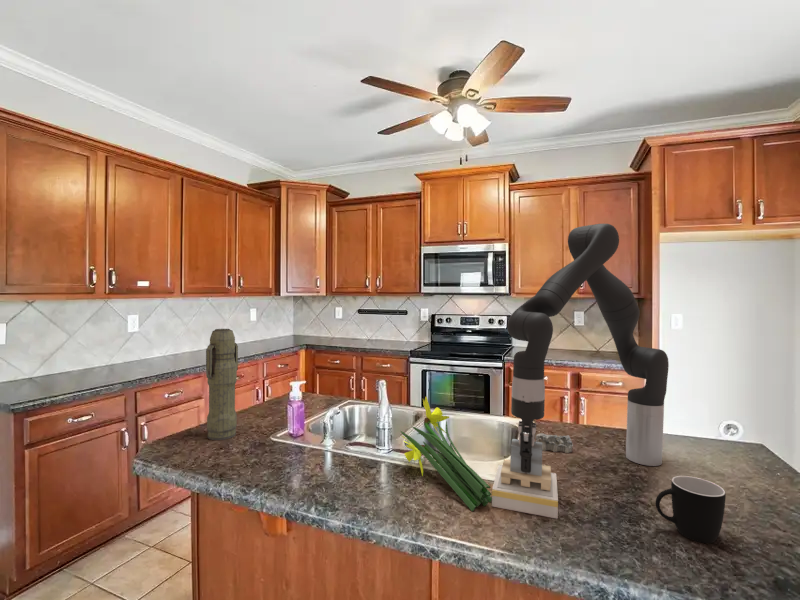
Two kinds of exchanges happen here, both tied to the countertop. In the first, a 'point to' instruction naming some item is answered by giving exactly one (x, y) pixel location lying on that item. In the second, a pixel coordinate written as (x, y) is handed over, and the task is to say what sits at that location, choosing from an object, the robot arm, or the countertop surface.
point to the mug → (695, 507)
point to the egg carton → (555, 442)
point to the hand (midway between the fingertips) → (526, 466)
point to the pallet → (526, 476)
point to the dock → (525, 496)
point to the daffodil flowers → (448, 461)
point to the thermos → (222, 384)
